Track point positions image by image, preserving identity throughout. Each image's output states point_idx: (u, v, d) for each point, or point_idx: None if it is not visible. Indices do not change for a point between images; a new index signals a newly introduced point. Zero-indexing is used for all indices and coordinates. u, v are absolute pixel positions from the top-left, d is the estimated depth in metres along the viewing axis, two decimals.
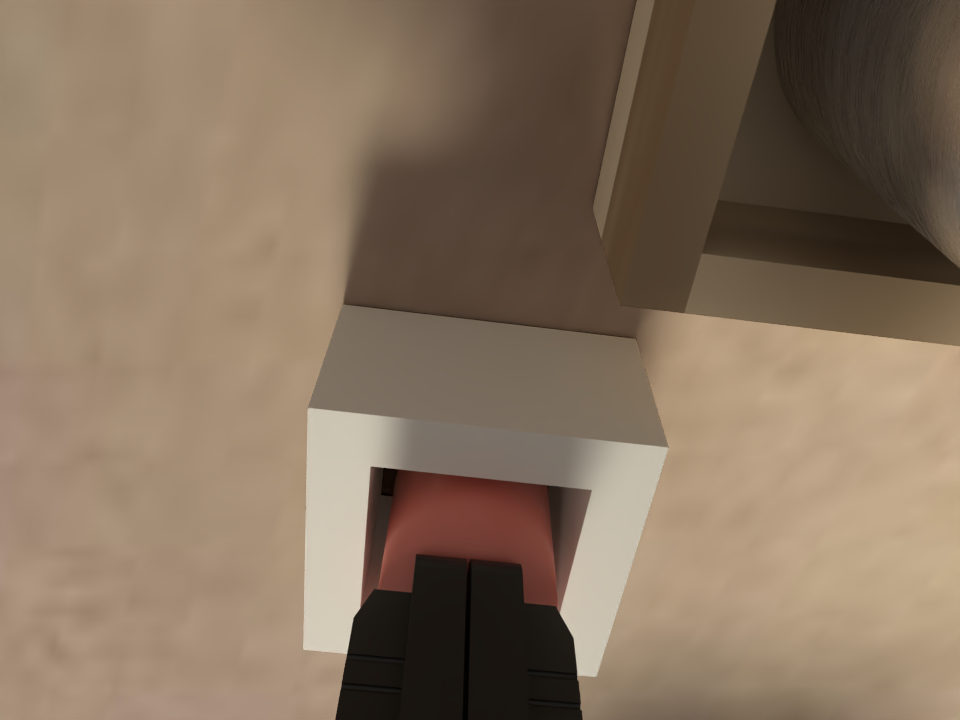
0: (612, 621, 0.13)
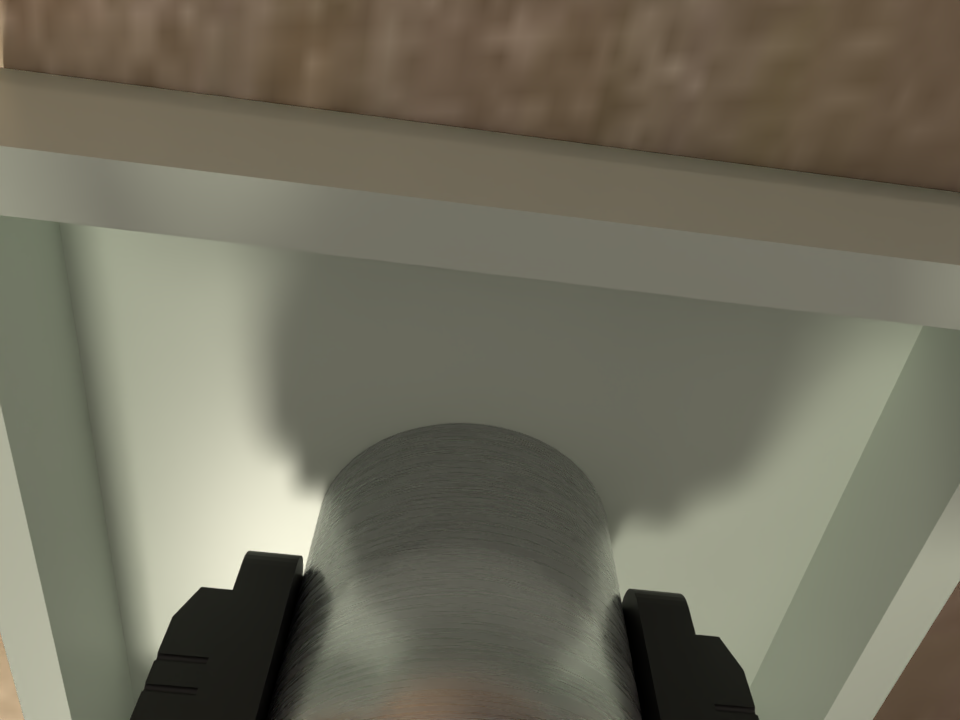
0: None
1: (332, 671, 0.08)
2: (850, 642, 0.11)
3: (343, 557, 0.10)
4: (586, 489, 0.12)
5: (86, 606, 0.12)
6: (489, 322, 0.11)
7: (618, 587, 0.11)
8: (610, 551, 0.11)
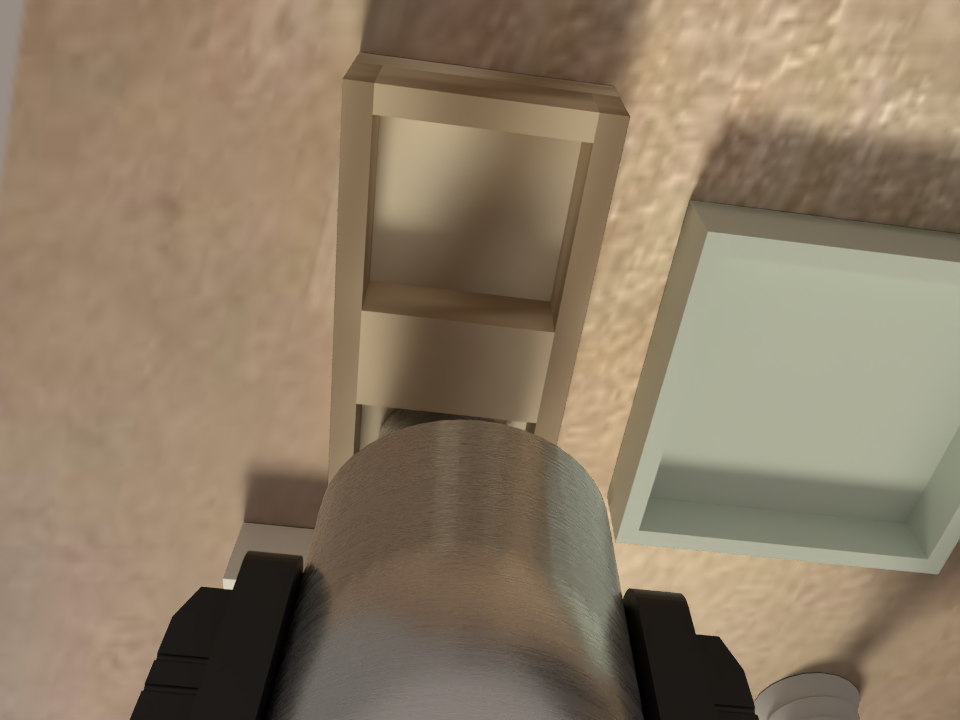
0: None
1: (332, 667, 0.08)
2: None
3: (343, 554, 0.10)
4: (587, 486, 0.12)
5: None
6: (856, 296, 0.27)
7: (619, 584, 0.11)
8: (611, 548, 0.11)
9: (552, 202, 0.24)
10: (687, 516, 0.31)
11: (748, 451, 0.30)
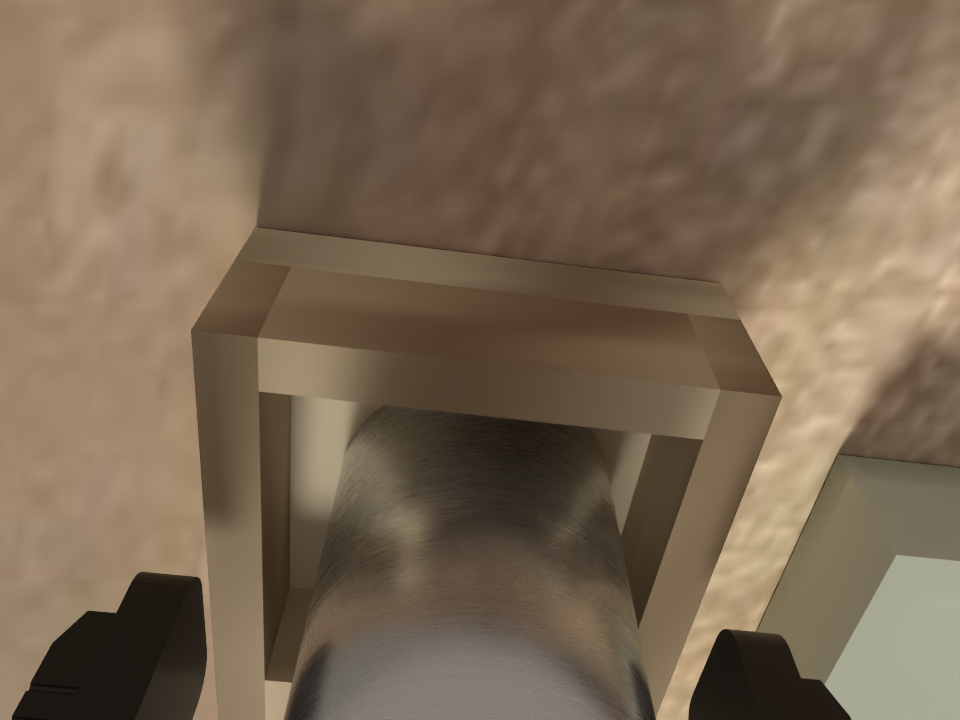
0: None
1: (363, 586, 0.10)
2: None
3: (370, 494, 0.11)
4: (587, 438, 0.13)
5: None
6: None
7: (617, 525, 0.12)
8: (610, 493, 0.12)
9: None
10: None
11: None
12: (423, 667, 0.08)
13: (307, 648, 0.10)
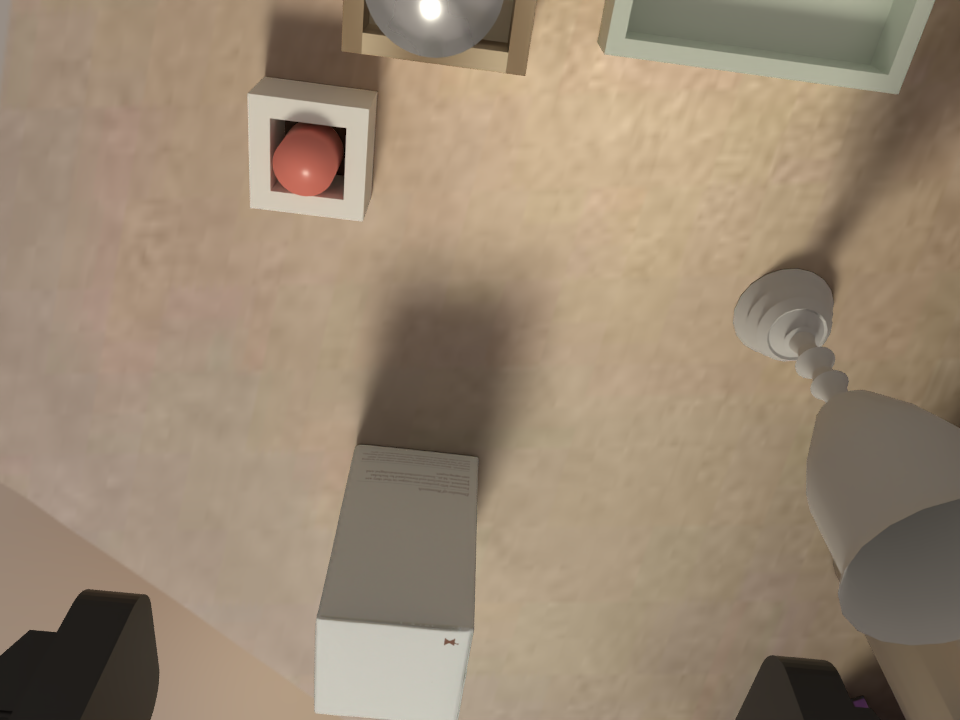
0: (364, 192, 0.36)
1: None
2: None
3: None
4: None
5: None
6: None
7: None
8: None
9: None
10: (669, 40, 0.34)
11: None
12: None
13: None
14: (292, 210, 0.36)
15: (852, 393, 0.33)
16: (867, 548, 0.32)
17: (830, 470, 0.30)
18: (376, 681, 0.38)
